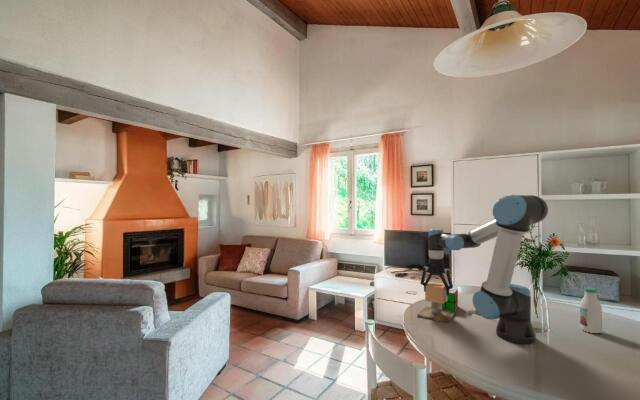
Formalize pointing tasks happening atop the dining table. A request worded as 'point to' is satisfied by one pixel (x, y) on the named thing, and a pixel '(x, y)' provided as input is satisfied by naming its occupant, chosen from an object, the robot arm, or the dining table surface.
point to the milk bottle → (590, 312)
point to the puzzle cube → (451, 300)
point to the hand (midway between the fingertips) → (436, 299)
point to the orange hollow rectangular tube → (435, 292)
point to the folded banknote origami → (473, 312)
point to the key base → (435, 316)
